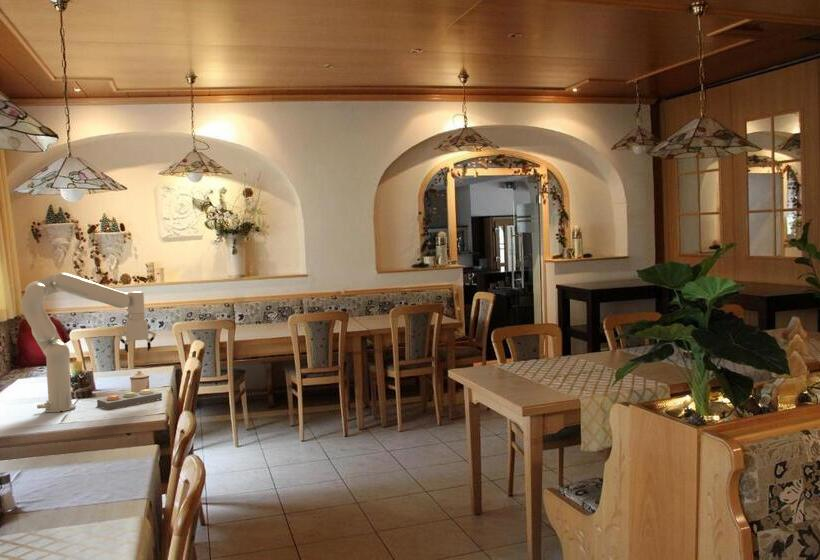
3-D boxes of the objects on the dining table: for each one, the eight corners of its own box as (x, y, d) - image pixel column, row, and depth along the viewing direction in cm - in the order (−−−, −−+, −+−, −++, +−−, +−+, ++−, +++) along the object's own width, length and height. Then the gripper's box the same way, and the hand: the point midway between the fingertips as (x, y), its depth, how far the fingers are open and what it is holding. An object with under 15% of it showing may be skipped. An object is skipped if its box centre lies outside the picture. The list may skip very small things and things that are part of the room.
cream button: (143, 397, 334) (143, 391, 334) (138, 396, 338) (138, 390, 337) (153, 396, 338) (153, 390, 338) (148, 394, 341) (148, 388, 341)
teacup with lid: (151, 394, 350) (150, 371, 349) (132, 396, 346) (130, 373, 345) (147, 390, 360) (146, 367, 360) (129, 392, 356) (128, 369, 356)
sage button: (127, 401, 328) (126, 394, 328) (122, 399, 332) (122, 393, 332) (137, 399, 332) (137, 392, 332) (132, 397, 335) (132, 391, 335)
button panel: (108, 409, 318) (108, 403, 318) (97, 405, 327) (97, 399, 326) (161, 399, 337) (161, 393, 337) (150, 395, 345) (150, 389, 345)
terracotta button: (110, 404, 323) (110, 397, 322) (105, 402, 326) (105, 396, 326) (121, 402, 326) (120, 395, 326) (116, 400, 330) (116, 394, 329)
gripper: (116, 318, 332) (118, 354, 333) (155, 316, 338) (156, 351, 339) (117, 317, 339) (119, 351, 340) (155, 315, 345) (156, 349, 346)
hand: (138, 351), depth 340 cm, fingers open, 9 cm apart
